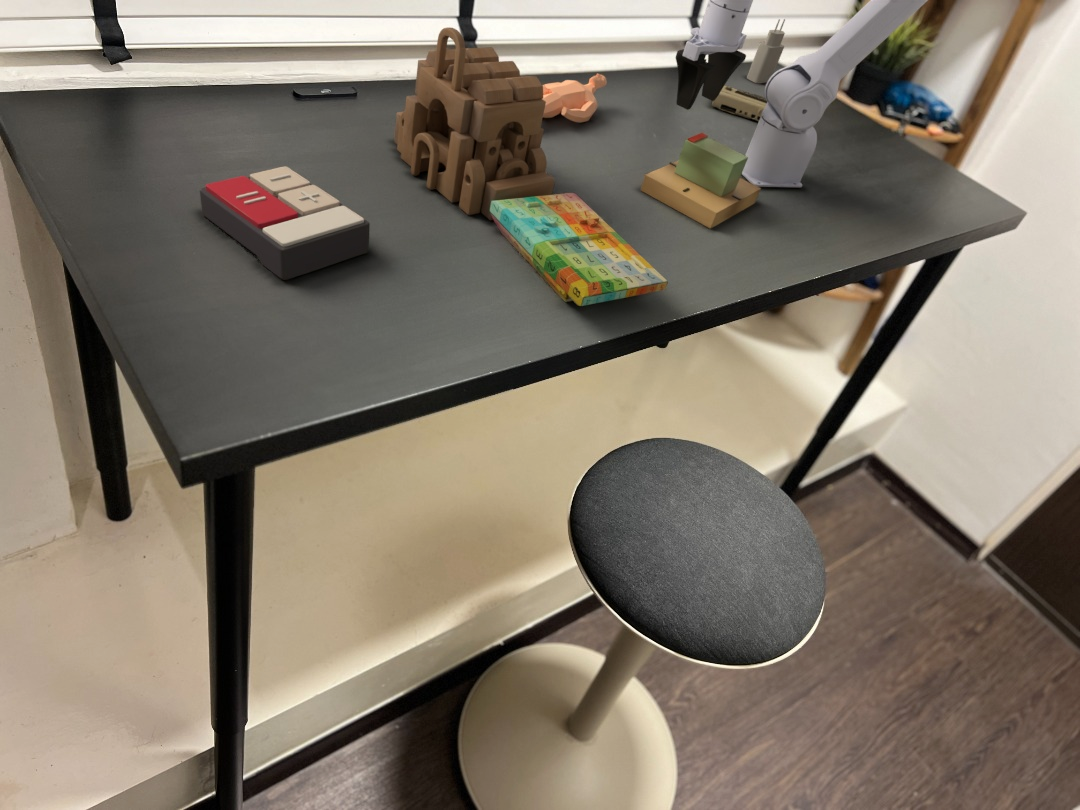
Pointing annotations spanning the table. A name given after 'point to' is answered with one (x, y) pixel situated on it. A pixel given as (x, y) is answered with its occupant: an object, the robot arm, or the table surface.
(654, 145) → the table surface
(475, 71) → the wooden puzzle
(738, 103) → the computer
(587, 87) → the male figurine
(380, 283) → the table surface
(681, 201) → the tan flat block
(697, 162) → the box
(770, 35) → the power adapter
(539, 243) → the puzzle game
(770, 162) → the robot arm
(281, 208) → the calculator
